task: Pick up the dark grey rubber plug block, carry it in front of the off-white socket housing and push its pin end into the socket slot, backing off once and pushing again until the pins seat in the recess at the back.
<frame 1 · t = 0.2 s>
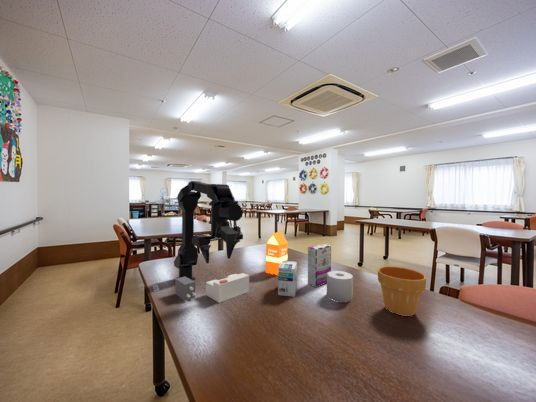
hand: (218, 260, 86), 14 cm above the table, tool pointing down, fingers open, 9 cm apart
plug: (184, 295, 89), on the table
light bulb box: (287, 291, 95), on the table
toilet tissue: (339, 296, 91), on the table
socket: (228, 293, 91), on the table
candy bar box: (319, 283, 104), on the table
orange juice: (276, 272, 118), on the table
flower pot: (399, 311, 80), on the table
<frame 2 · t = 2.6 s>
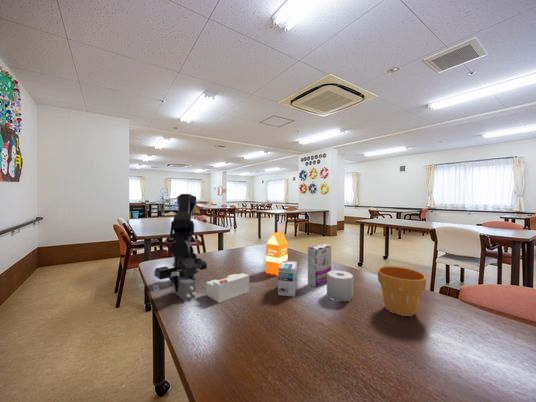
hand: (182, 290, 91), 1 cm above the table, tool pointing down, fingers closed on plug, 4 cm apart
plug: (185, 295, 89), on the table, touching gripper
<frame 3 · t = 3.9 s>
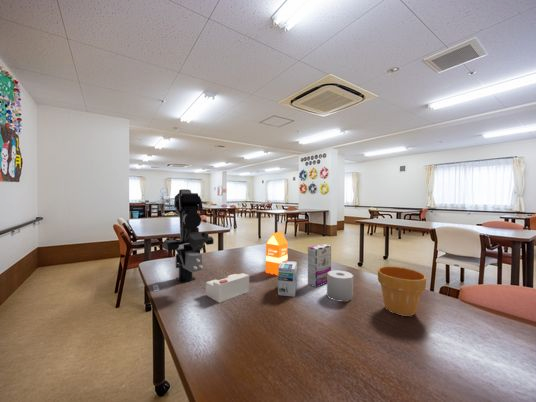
hand: (189, 264, 93), 11 cm above the table, tool pointing down, fingers closed on plug, 4 cm apart
plug: (192, 268, 91), point 10 cm above the table, touching gripper
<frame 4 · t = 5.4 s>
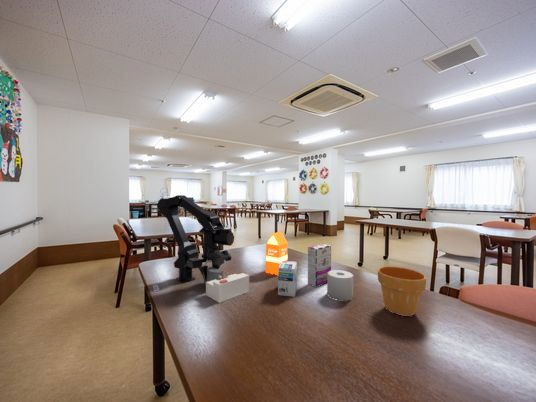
hand: (209, 279, 101), 2 cm above the table, tool pointing down, fingers closed on plug, 4 cm apart
plug: (213, 283, 99), point 1 cm above the table, touching gripper
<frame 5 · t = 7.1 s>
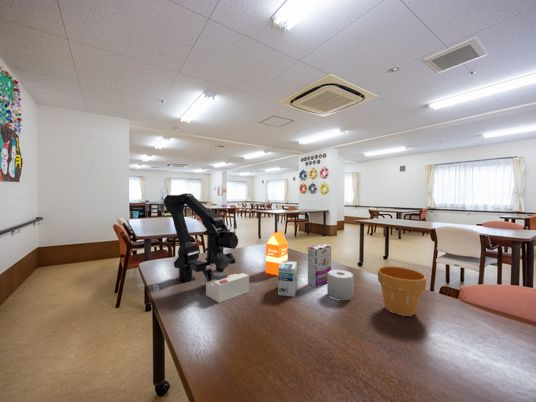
hand: (213, 282, 99), 1 cm above the table, tool pointing down, fingers closed on plug, 4 cm apart
plug: (217, 287, 97), on the table, touching gripper
when the fingers open (1 cm above the table, at t = 8.1 s): plug stays where it is, on the table.
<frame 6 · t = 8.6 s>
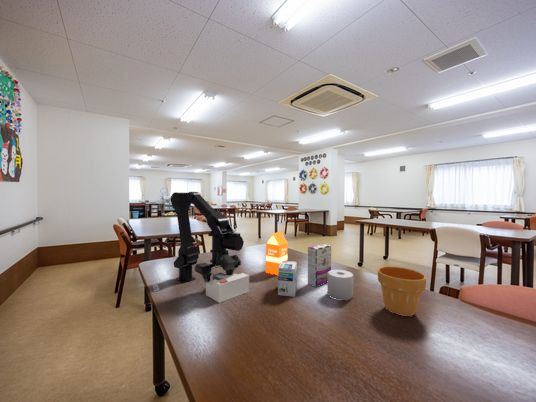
hand: (218, 285, 96), 1 cm above the table, tool pointing down, fingers open, 9 cm apart
plug: (222, 290, 94), on the table
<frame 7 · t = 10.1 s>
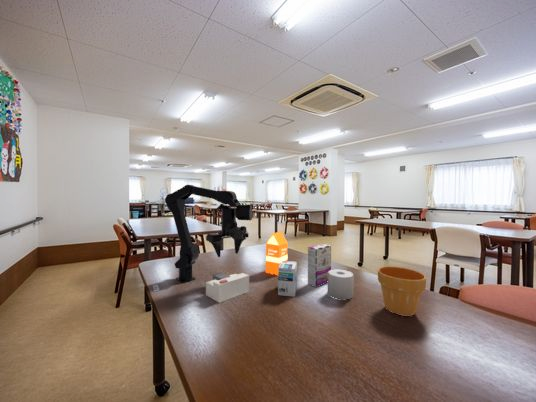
hand: (228, 255, 102), 12 cm above the table, tool pointing down, fingers open, 9 cm apart
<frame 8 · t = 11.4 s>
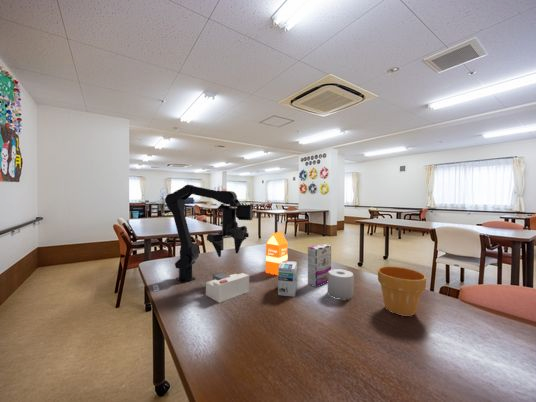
hand: (228, 255, 103), 12 cm above the table, tool pointing down, fingers open, 9 cm apart
at the end: plug 0.3 cm from the target spot on the socket, point 0.0 cm above the socket's base; plug tilted 0°; the gripper is holding nothing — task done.
